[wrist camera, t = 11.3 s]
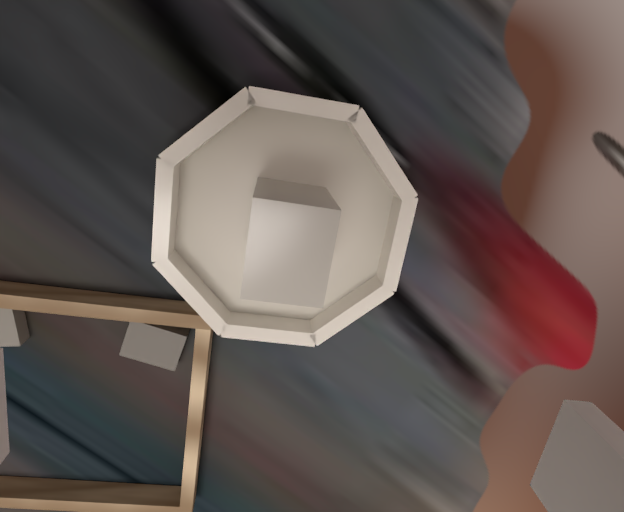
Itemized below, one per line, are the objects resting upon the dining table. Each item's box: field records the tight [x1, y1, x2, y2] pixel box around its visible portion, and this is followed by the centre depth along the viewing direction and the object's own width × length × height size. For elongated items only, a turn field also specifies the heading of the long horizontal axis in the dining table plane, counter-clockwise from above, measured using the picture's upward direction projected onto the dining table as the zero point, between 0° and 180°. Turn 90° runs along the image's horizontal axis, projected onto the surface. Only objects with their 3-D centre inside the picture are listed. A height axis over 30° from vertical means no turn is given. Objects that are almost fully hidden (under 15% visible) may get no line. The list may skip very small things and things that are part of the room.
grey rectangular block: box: [119, 322, 190, 371], centre depth 31 cm, size 3×4×2 cm
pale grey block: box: [240, 177, 342, 308], centre depth 26 cm, size 6×4×7 cm
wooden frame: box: [0, 281, 213, 512], centre depth 32 cm, size 18×20×2 cm
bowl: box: [151, 86, 418, 347], centre depth 28 cm, size 16×16×3 cm
